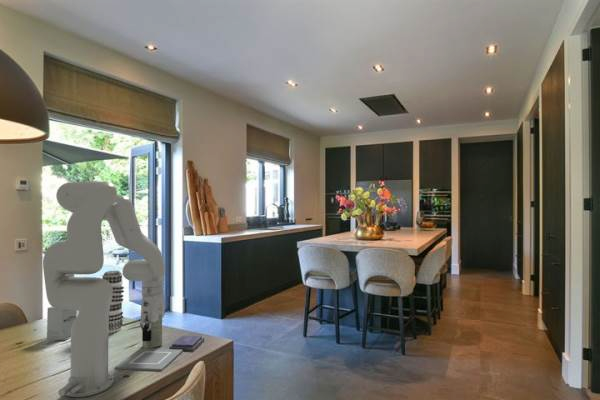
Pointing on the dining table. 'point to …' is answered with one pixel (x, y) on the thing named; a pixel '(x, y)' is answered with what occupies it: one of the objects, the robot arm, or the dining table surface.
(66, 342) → the dining table surface
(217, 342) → the dining table surface
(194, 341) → the ink pad
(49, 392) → the dining table surface
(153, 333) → the skincare box
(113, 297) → the decorative candle
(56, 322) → the supplement box
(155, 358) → the card
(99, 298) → the robot arm
